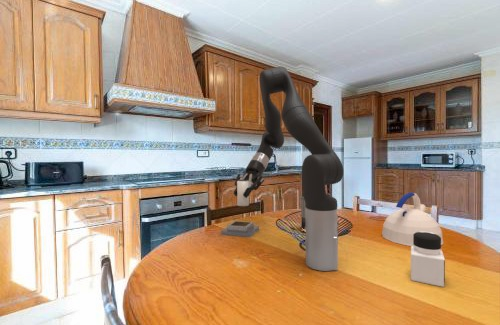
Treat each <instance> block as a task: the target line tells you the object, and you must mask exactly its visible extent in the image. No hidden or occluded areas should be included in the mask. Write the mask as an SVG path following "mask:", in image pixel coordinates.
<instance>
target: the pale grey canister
mask: <svg viewBox="0 0 500 325" xmlns="http://www.w3.org/2000/svg"><path fill="white" fill-rule="evenodd" d="M248 184H249V181H247V180H239V181H237V196H236V197H237V198H236V199H237V201H236V203H237V204H236V205H237V206H238V207H246V206H247V207H248V206H249V205H250V201H249V200H250V195H249V196H248V197H247V198H245V197H244V196H243V194H244V192H245V190H246V189H247V188H248Z"/></svg>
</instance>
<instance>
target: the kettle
mask: <svg viewBox="0 0 500 325" xmlns="http://www.w3.org/2000/svg"><path fill="white" fill-rule="evenodd" d="M410 198H412V200H413V208H411V207H410V208H409V207H406V208H403V207H404V204H405V203H406V202H407V201H408V199H410ZM395 207H396V208H400V209H397V210H395V211H393V212H392V213H390V214H389V215H388V216H387V217H386V218H385V220H384V222H383V225H382V234H381V235H382V237H383V238H384V239H386V240H388V241H389V242H391V243H392V242H393V243H395V244H399V245H402V246H410V247H411V246H413V234H414V233H416V232H430V233H434V234H436V235H438V236H440V237H441V246H442V245H443V244H444V240H443V231H442V229H441V227H440V224H439V223H438V222H437V220H436V219H435V218H434V217H432V216H431V215H429V214H428V213H427V212H426V210H427V206H426V205H425V204H423V203H421V199H420V197H419V195H418V194H417V193H414V192H408V193H406V194H404V195H403V196H402V197H401V198H400V199H399V201H398V202H397V204H396V206H395Z"/></svg>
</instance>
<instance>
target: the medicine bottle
mask: <svg viewBox="0 0 500 325" xmlns="http://www.w3.org/2000/svg"><path fill="white" fill-rule="evenodd" d="M445 276H446V259H445V256H444V253H443V250H442V245H441V237H440V236H438V235H436V234H434V233H430V232H416V233H414V234H413V246H410V280H411V281H412V282H417V283H423V284H427V285H431V286H437V287H442V288H445V286H446V281H445V280H446V277H445Z"/></svg>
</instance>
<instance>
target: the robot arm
mask: <svg viewBox="0 0 500 325" xmlns="http://www.w3.org/2000/svg"><path fill="white" fill-rule="evenodd" d="M259 73H260V74H259V87H260V88H259V89H260V94H261V99H262V105H263V111H264V124H265V126H264V128H265V131H264V132H263V133H262V136H261V141H260V145H259V147H258V149H257V151H256V153H255V154H254V155H252V157H251V159H250V161H249V162H248V164H247V165H246V168H245V172H244V173H243V174H240V173H239V174H237V175H236V178H235V180H234V181H235V182H234V186H235V189H234V191H233V196H235V197H237V181H239V180H247V181H249V184H248V188H247V189H246V190H245V192H244V194H243V196H244V197H245V198H247V197H248V196H249V197H250V195H251V192H253V191H257V190H258V189H259V187H261V185H262V184H263V183H264V182H265V178H264V177H263V174H264V172H265V170H266V169H267V167H268V164H269V162H270V160H271V158H272V157H273V155H274V149H273V148H275V149H280V148H282V147H283V145H284V143H285V136H284V131H283V130H282V126H281V125H282V122H283V125H284V126H285V128H286V130H287V133H289V135H290V136H291V137H292V138H294V139H295V140H296V141H297V142H298V143H300V145H302V146H303V147H305V149H306V150H308V151H309V153H310V154H309V155H307V156H306V157H305V158H304V159H303V162H302V165H301V182H302V184H301V186H302V197H304V200H305V218H306V233H305V264H306V266H307V267H309V268H310V269H313V270H315V271H320V272H321V271H322V272H330V271H338V268H339V264H338V263H339V248H338V247H339V246H338V245H339V244H338V243H339V241H338V240H339V238H338V237H339V236H338V234H339V232H338V225H337V222H338V200H337V199H336V198H335V197H334V196H331V195H329V194H327V191H326V186H328V185H329V186H330V185H335V184H338V183H340V182H341V181H342V179H343V177H344V167H343V166H344V165H343V162H342V161H341V159H340V157H339V156H338V155H337V153H336V152H335V150H334V149H333V148H332V146H331V145H330V144H329V143H328V141H327V140H326V138H325V137H324V135H323V133H322V132H321V129H319V127H318V125H317V124H316V122H315V120H314V118H313V116H312V114H311V113H310V111H309V109H308V108H307V106H306V105H305V102H304V101H303V100H302V98H301V96H300V95H299V92H298V91H297V89H296V86H295V84H294V82H293V78H292V77H291V75H290V72H289V71H288V69H287V68H286V66H285V67H284V66H277V67H271V68H266V69H264V70H261V71H260V72H259ZM281 92H283V93H284V94H285V99H284V102H283V106H282V108H281V109H282V110H281V112H280V110H279V108H278V107H277V106H276V105H275V104H274V103H273V101H272V99H271V95H272V94H277V93H281Z"/></svg>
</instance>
